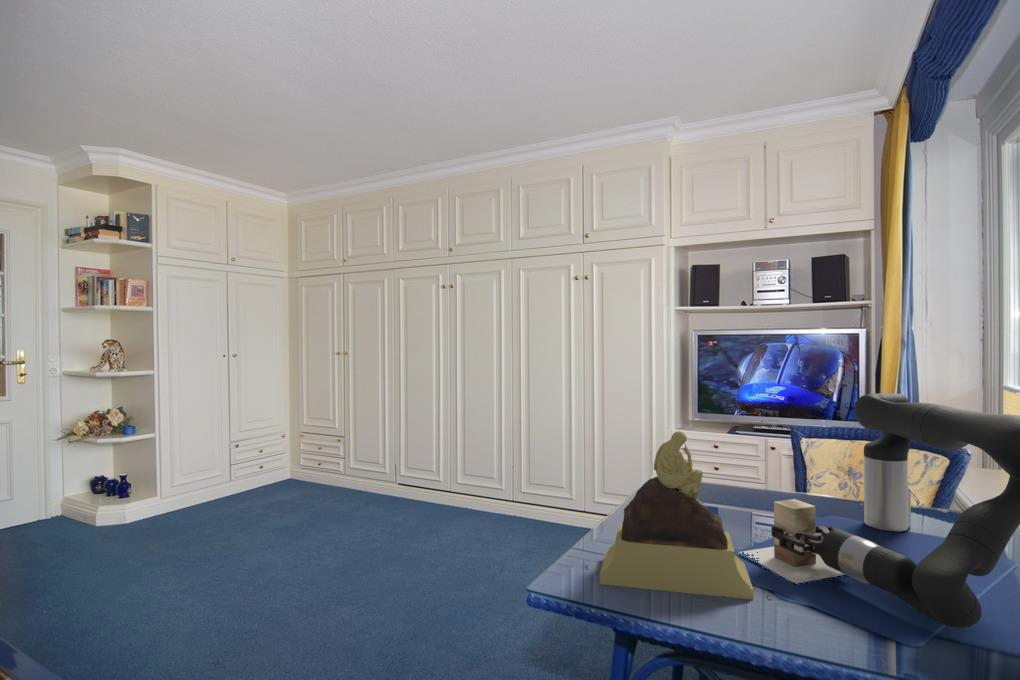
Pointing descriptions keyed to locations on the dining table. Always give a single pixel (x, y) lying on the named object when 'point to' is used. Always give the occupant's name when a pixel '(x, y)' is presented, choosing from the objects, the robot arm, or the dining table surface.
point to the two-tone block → (794, 528)
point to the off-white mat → (791, 572)
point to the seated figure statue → (674, 536)
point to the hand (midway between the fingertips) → (788, 528)
